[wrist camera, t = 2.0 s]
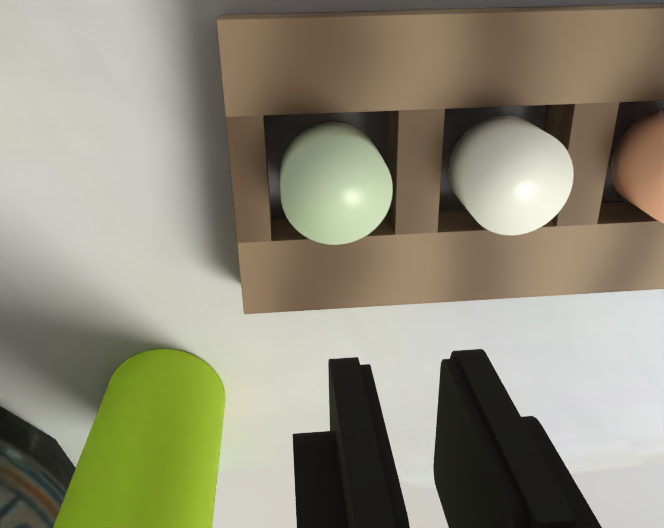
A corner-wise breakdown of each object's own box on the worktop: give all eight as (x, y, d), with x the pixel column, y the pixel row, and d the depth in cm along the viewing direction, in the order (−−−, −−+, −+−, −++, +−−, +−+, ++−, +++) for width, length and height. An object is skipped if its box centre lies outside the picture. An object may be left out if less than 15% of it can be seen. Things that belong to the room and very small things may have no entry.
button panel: (757, 1, 26) (804, 4, 23) (689, 261, 31) (722, 285, 29) (221, 14, 24) (216, 20, 22) (246, 287, 29) (243, 314, 27)
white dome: (553, 113, 25) (581, 127, 23) (540, 210, 27) (564, 232, 25) (452, 117, 25) (470, 132, 23) (445, 214, 27) (461, 238, 24)
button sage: (382, 119, 25) (394, 135, 22) (381, 218, 26) (391, 241, 24) (276, 123, 24) (277, 140, 22) (282, 223, 26) (283, 247, 24)
